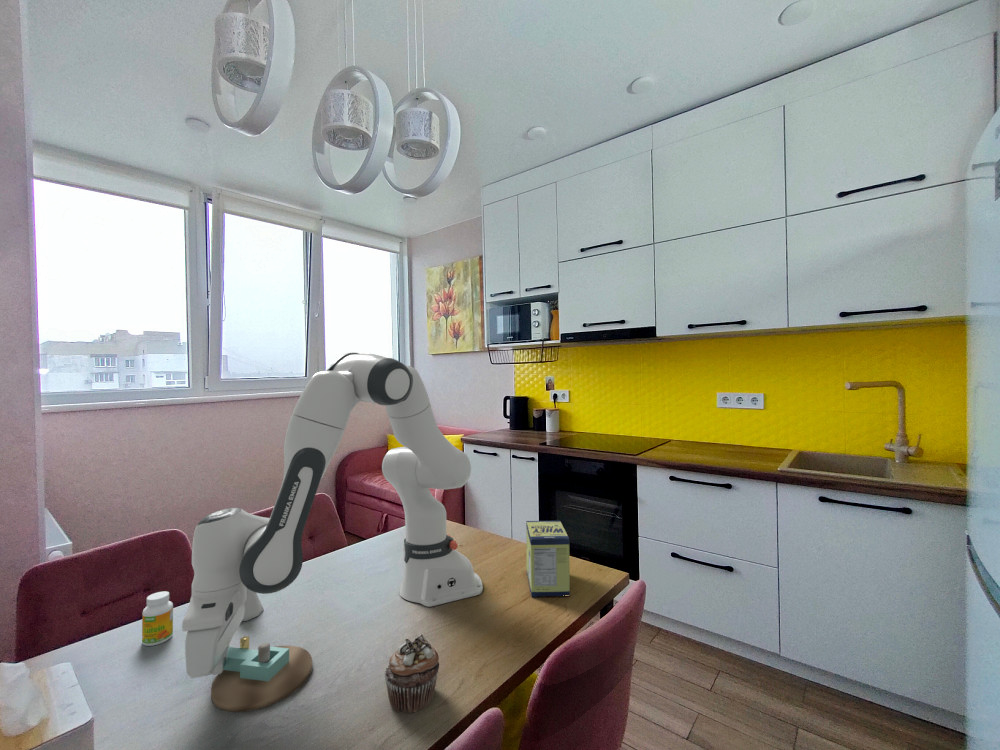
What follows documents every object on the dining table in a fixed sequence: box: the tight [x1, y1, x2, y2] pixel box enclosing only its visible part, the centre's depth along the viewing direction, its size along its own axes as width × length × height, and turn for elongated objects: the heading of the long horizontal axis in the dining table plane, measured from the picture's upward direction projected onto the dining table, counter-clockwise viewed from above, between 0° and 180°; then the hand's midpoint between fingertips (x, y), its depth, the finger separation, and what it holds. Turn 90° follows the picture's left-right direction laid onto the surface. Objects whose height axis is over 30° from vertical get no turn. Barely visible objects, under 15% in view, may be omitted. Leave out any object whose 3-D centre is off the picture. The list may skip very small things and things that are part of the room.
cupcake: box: [384, 633, 440, 714], centre depth 79 cm, size 10×10×10 cm
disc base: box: [210, 642, 313, 713], centre depth 84 cm, size 17×17×6 cm
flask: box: [241, 587, 264, 622], centre depth 107 cm, size 7×7×10 cm
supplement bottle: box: [141, 590, 174, 647], centre depth 97 cm, size 5×5×10 cm
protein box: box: [525, 520, 571, 598], centre depth 122 cm, size 10×16×16 cm
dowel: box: [239, 635, 250, 649], centre depth 88 cm, size 2×2×4 cm
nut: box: [223, 645, 289, 681], centre depth 85 cm, size 13×6×2 cm, turn 80°
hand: (219, 670), depth 83 cm, fingers closed
